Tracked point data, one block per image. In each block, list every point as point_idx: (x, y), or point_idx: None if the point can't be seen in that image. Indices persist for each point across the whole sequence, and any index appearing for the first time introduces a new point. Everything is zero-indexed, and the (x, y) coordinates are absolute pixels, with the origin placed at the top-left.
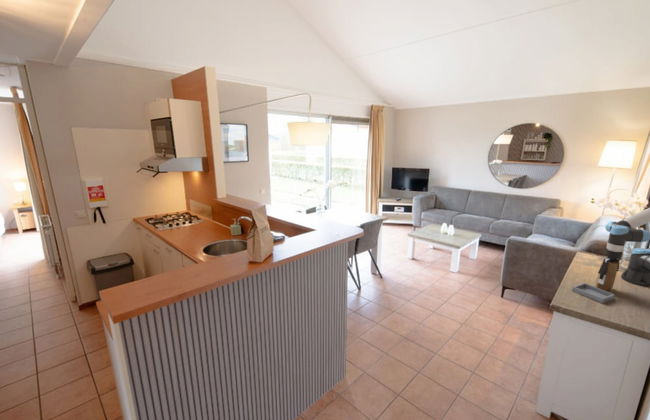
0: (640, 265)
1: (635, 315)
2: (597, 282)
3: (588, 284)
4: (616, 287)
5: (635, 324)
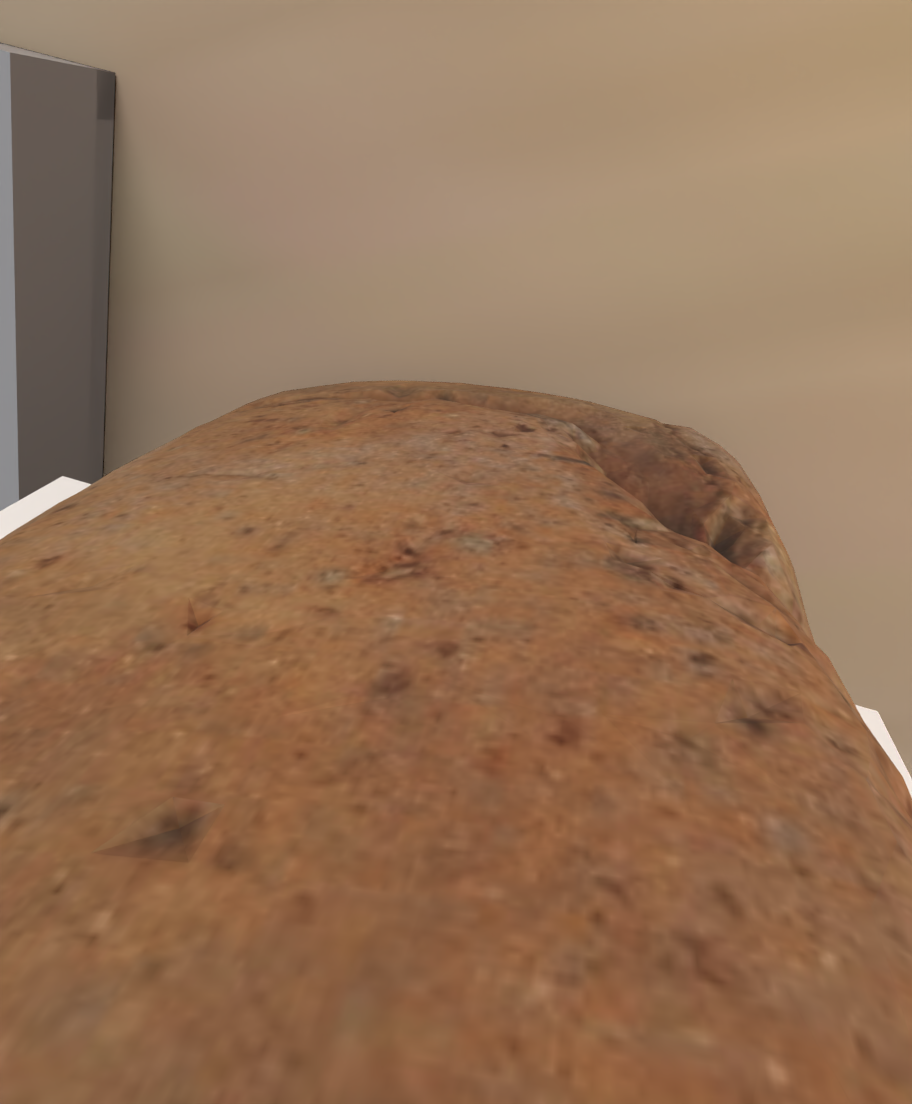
0: None
1: None
2: (135, 459)
3: (5, 211)
4: (900, 733)
5: None
